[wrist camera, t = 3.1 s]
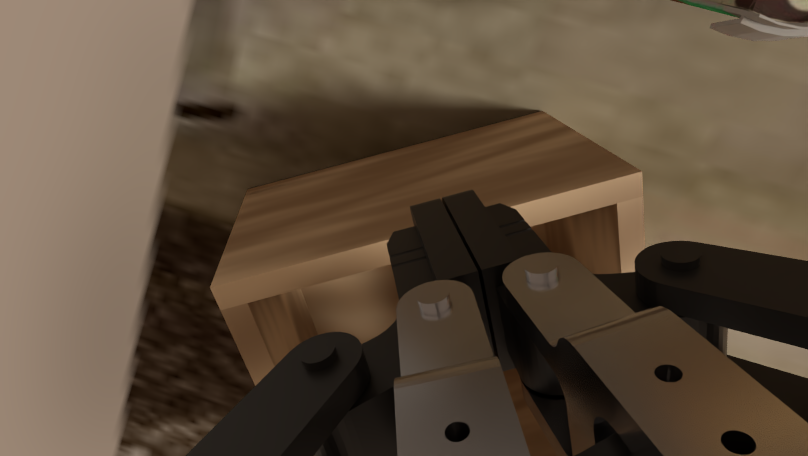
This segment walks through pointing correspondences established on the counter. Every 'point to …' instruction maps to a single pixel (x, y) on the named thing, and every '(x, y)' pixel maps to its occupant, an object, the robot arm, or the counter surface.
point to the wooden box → (390, 211)
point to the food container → (759, 18)
